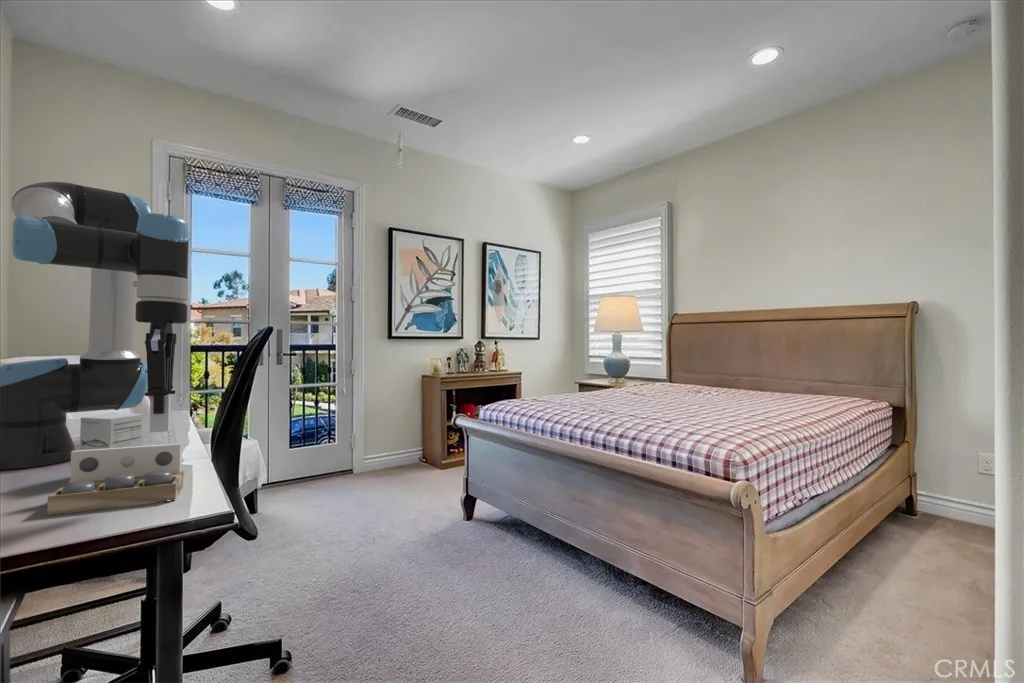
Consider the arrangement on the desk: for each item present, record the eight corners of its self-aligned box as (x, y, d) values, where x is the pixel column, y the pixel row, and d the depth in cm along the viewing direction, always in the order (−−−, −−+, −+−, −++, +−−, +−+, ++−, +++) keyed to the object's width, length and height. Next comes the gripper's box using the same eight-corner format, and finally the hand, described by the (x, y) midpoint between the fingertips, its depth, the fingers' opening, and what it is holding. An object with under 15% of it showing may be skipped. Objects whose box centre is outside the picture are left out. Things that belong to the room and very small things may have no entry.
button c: (147, 485, 86) (147, 471, 86) (173, 482, 88) (173, 469, 88) (141, 491, 82) (142, 477, 82) (169, 488, 84) (170, 474, 84)
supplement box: (77, 479, 95) (78, 417, 95) (113, 469, 102) (114, 411, 102) (108, 481, 94) (110, 418, 94) (142, 471, 101) (144, 413, 101)
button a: (67, 497, 81) (67, 482, 81) (97, 494, 83) (97, 480, 83) (58, 504, 77) (58, 489, 77) (89, 501, 79) (90, 486, 79)
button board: (70, 496, 85) (70, 480, 85) (184, 485, 93) (184, 469, 93) (47, 515, 76) (47, 496, 76) (175, 500, 84) (175, 484, 84)
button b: (108, 489, 83) (108, 474, 83) (136, 486, 85) (137, 472, 85) (101, 495, 80) (101, 481, 80) (131, 492, 82) (131, 478, 82)
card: (72, 481, 84) (73, 450, 84) (180, 471, 91) (181, 443, 91) (69, 483, 83) (70, 452, 83) (179, 473, 90) (180, 444, 90)
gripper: (144, 302, 89) (142, 427, 89) (126, 296, 77) (123, 439, 77) (192, 304, 93) (190, 424, 92) (181, 299, 81) (178, 435, 81)
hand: (159, 431), depth 85 cm, fingers closed
